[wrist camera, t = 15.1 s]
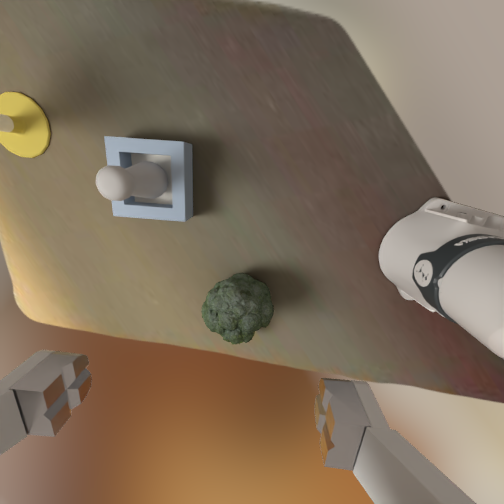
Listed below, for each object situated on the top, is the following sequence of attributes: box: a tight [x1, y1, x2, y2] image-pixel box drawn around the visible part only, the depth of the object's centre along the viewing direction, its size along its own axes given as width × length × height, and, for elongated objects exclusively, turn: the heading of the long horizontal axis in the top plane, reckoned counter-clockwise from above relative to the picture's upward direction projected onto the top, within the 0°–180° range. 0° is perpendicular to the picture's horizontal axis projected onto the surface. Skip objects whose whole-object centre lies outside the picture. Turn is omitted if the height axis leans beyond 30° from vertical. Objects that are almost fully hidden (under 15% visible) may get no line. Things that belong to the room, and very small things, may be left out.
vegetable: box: [202, 273, 274, 344], centre depth 45 cm, size 12×13×15 cm
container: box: [104, 136, 193, 222], centre depth 41 cm, size 12×12×4 cm
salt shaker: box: [96, 161, 168, 201], centre depth 36 cm, size 6×6×13 cm
